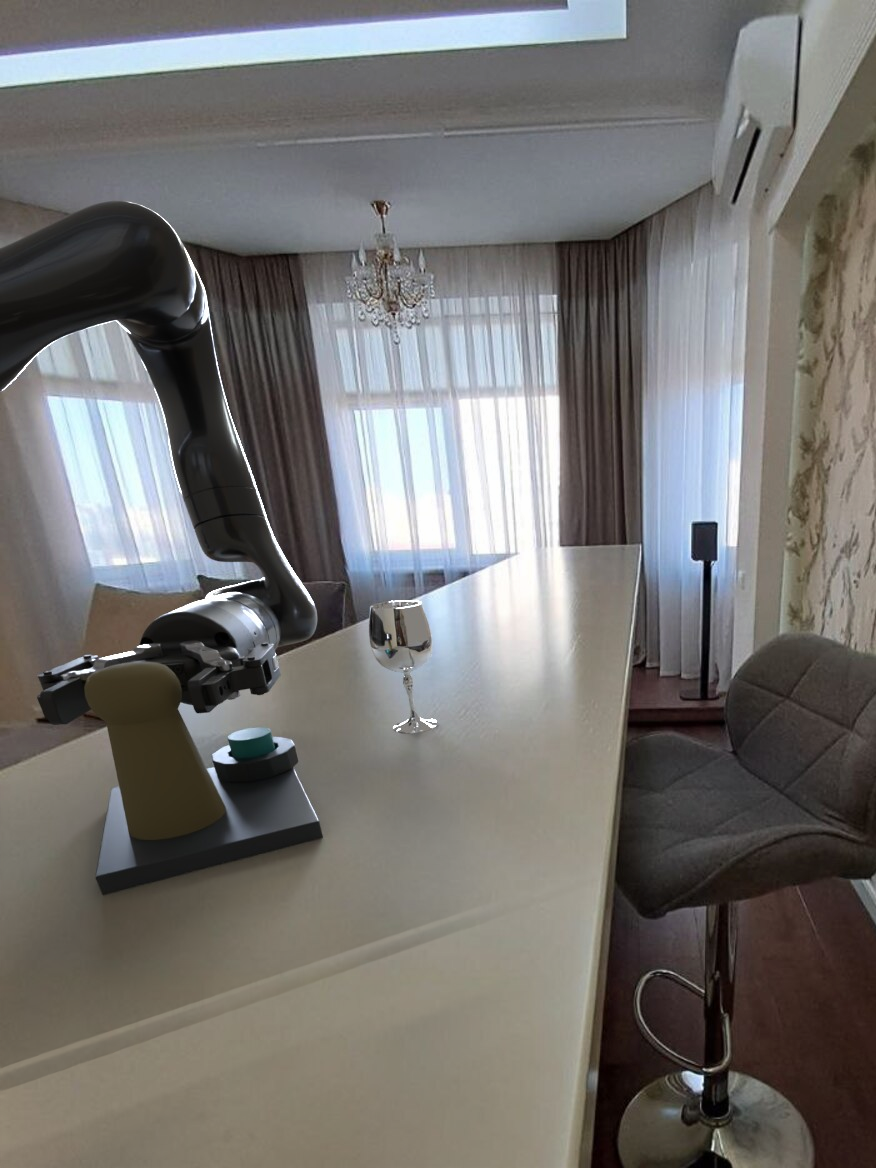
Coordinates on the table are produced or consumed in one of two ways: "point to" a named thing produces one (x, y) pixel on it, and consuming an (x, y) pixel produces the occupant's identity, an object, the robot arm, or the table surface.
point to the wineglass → (402, 649)
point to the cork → (153, 751)
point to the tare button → (251, 742)
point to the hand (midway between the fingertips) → (125, 704)
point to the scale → (216, 823)
